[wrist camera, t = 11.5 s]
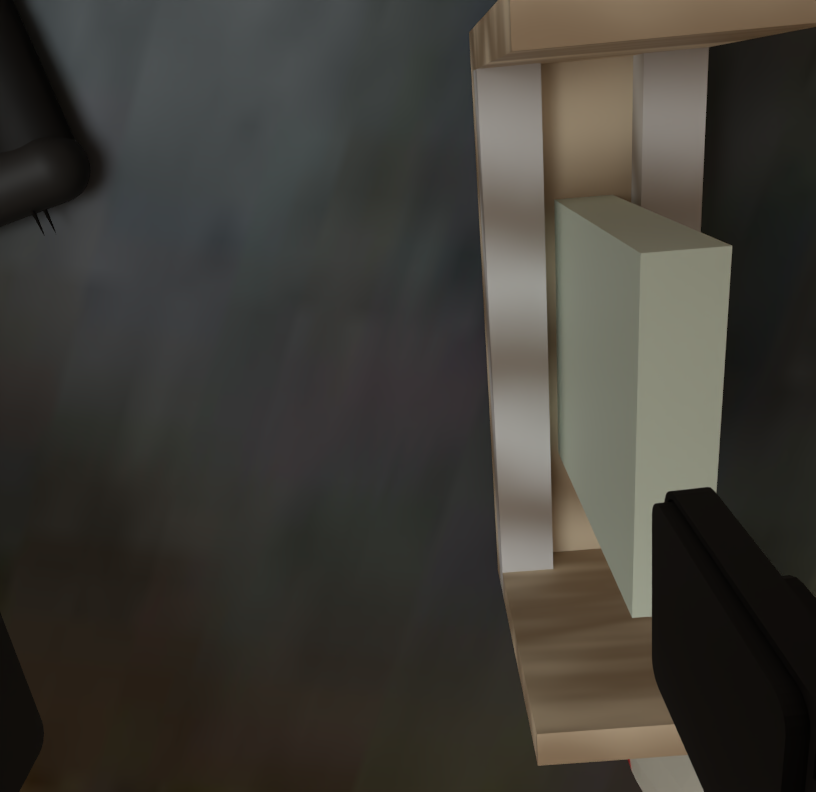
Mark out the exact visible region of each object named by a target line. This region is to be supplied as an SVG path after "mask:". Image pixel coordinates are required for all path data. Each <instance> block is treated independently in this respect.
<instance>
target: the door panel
mask: <svg viewBox="0 0 816 792" xmlns="http://www.w3.org/2000/svg"><path fill="white" fill-rule="evenodd" d="M554 207H555V275H556V342H557V409H558V453H559V455H560V458H561V460H562V462H563V464H564V467H565V469H566V471H567V473H568V476H569V478H570V480H571V482H572V485H573V487H574V489H575V491H576V494H577V496H578V498H579V500H580V502H581V505H582V507H583V509H584V511H585V514H586V516H587V518H588V520H589V523H590V525H591V527H592V529H593V532H594V534H595V536H596V538H597V541H598V543H599V545H600V547H601V549H602V552H603V554H604V556H605V558H606V561H607V563H608V565H609V567H610V570H611V572H612V574H613V576H614V579H615V581H616V583H617V585H618V588H619V590H620V592H621V594H622V596H623V599H624V601H625V603H626V605H627V608H628V610H629V612H630V614H631V617H632V618H638V617H652V508H653V505H654V504H655V503H663V502H664V501H665V496H666V493H667V492H668V491H676V490H685V489H694V488H703V487H711V488H712V489H713V490H714V491H715V492H716V491H717V475H718V460H719V444H720V429H721V413H722V398H723V382H724V367H725V351H726V336H727V320H728V305H729V290H730V274H731V259H732V245H729V244H727V243H725V242H722V241H720V240H718V239H715V238H713V237H711V236H708V235H706V234H703V233H701V232H699V231H696V230H694V229H692V228H689V227H687V226H685V225H682V224H680V223H678V222H675V221H673V220H671V219H668V218H666V217H664V216H661V215H659V214H657V213H654V212H652V211H650V210H647V209H645V208H643V207H640V206H638V205H636V204H633V203H631V202H628V201H626V200H624V199H621V198H619V197H617V196H614V195H603V196H591V197H579V198H567V199H555V200H554Z"/></svg>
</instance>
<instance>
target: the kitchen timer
mask: <svg viewBox="0 0 816 792" xmlns="http://www.w3.org/2000/svg"><path fill="white" fill-rule="evenodd" d="M628 762H629V764H630V767H631V770H632V772H633V775H634V777H635V779H636V781H637V782H638V784H639V786H640V788H641V789H642V791H643V792H704V791H703V788H702V786H701V784H700V782H699V779H698V777H697V775H696V773H695V770H694V768H693V766H692V763H691V761H690V759H689V757H688V755H680V756H666V757H652V758H638V759H628Z"/></svg>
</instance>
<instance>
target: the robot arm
mask: <svg viewBox="0 0 816 792" xmlns="http://www.w3.org/2000/svg"><path fill="white" fill-rule="evenodd" d="M652 665H653V671H654V676H655V680H656V683H657V686H658V688H659V691H660V693H661V695H662V697H663V700H664V702H665V704H666V707H667V709H668V711H669V713H670V716H671V718H672V720H673V722H674V725H675V727H676V729H677V732H678V734H679V736H680V738H681V741H682V743H683V745H684V748H685V750H686V752H687V754H688V757H689V759H690V761H691V763H692V766H693V768H694V770H695V773H696V775H697V777H698V779H699V782H700V784H701V786H702V788H703V791H704V792H816V598H815V597H814V596H813V595H812V594H811V592H810V591H809V590H808V589H807V587H806V586H805V585H804V584H803V583H802V582H801V581H800V580H799V579H798V578H796V577H793V576H790V575H788V576H781V575H780V573H779V572H778V571H777V570H776V568H775V567H774V566H773V565H772V563H771V562H770V561H769V560H768V558H767V557H766V556H765V554H764V553H763V552H762V551H761V549H760V548H759V547H758V546H757V544H756V543H755V542H754V540H753V539H752V538H751V537H750V535H749V534H748V533H747V532H746V530H745V529H744V528H743V527H742V525H741V524H740V523H739V521H738V520H737V519H736V518H735V516H734V515H733V514H732V513H731V511H730V510H729V509H728V508H727V506H726V505H725V504H724V502H723V501H722V500H721V499H720V497H719V496H718V495H717V494H716V492H715V491H714V490H713V489H712V488H711V487H703V488H694V489H685V490H676V491H668V492H667V493H666V496H665V501H664V502H663V503H655V504H654V505H653V508H652ZM43 737H44V730H43V724H42V720H41V718H40V715H39V713H38V710H37V707H36V705H35V702H34V700H33V697H32V694H31V692H30V689H29V686H28V684H27V681H26V679H25V676H24V673H23V671H22V668H21V666H20V663H19V660H18V658H17V655H16V653H15V650H14V647H13V645H12V642H11V639H10V637H9V634H8V632H7V629H6V626H5V624H4V621H3V619H2V616H1V613H0V792H19V791H20V789H21V787H22V785H23V783H24V781H25V779H26V778H27V776H28V774H29V772H30V770H31V768H32V766H33V764H34V762H35V760H36V759H37V757H38V755H39V753H40V750H41V748H42V744H43Z"/></svg>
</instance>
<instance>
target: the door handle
mask: <svg viewBox="0 0 816 792" xmlns="http://www.w3.org/2000/svg"><path fill="white" fill-rule="evenodd" d="M89 177H90V164H89V160H88V157H87V155H86V153H85V151H84V149H83V148H82V147H81V145H80V144H79V143H78V142H77V141H76V140H75V139H74V137H73V135H72V133H71V130H70V128H69V126H68V124H67V121H66V119H65V117H64V115H63V112H62V110H61V108H60V106H59V103H58V101H57V99H56V97H55V94H54V92H53V90H52V88H51V85H50V83H49V81H48V79H47V76H46V74H45V72H44V70H43V67H42V65H41V63H40V61H39V59H38V56H37V54H36V52H35V50H34V47H33V45H32V43H31V41H30V38H29V36H28V34H27V32H26V29H25V27H24V25H23V23H22V20H21V18H20V16H19V14H18V11H17V9H16V7H15V5H14V2H13V0H0V226H3V225H6V224H8V223H11V222H14V221H16V220H19V219H22V218H25V217H27V216H30V215H33V217H34V218H35V220H36V222H37V224H38V225H39V227H40V229H41V231H42V232H43V230H42V227H41V225H40V222H39V219H38V217H37V214H36V213H38V212H41V211H44V213H45V215H46V217H47V219H48V220H49V222H50V224H51V226H52V227H53V224H52V221H51V219H50V216H49V213H48V211H47V209H49V208H51V207H54V206H57V205H59V204H62V203H65V202H67V201H70V200H72V199H74V198H76V197H77V196H78V195H80V194H81V193H82V192H83V190H84V189H85V187H86V186H87V184H88V181H89ZM53 229H54V227H53ZM54 231H55V229H54ZM55 233H56V232H55ZM43 234H44V232H43ZM56 235H57V234H56ZM44 236H45V235H44Z"/></svg>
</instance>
